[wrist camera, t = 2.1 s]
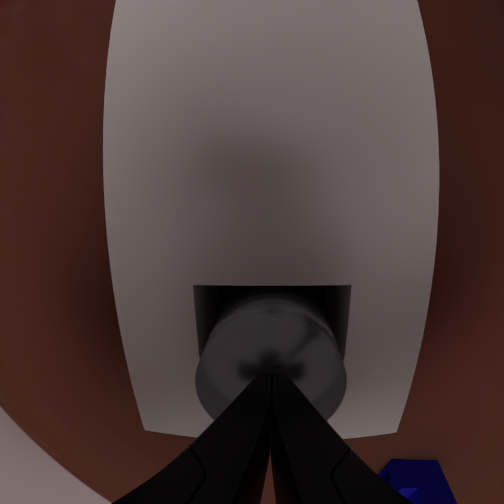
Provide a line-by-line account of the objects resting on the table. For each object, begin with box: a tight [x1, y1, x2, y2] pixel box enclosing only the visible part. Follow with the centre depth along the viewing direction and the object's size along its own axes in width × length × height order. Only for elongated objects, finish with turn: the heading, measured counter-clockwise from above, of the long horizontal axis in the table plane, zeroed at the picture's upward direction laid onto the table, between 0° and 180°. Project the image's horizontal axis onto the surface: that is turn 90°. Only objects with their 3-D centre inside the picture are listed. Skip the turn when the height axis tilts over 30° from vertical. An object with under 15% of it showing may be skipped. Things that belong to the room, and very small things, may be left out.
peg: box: [195, 285, 347, 421], centre depth 10 cm, size 4×4×5 cm
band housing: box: [103, 0, 439, 442], centre depth 10 cm, size 10×22×5 cm, turn 1°
